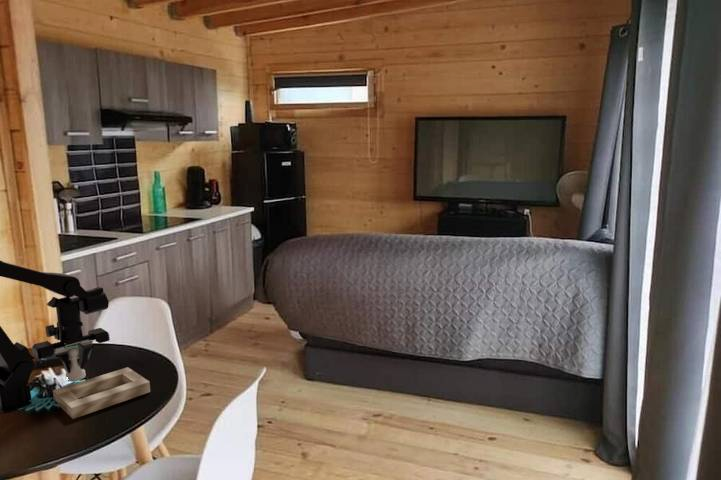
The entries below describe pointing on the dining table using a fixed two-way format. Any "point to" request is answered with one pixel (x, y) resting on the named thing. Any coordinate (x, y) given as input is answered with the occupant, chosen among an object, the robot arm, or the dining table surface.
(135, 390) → the wooden rectangular frame
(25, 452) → the dining table surface
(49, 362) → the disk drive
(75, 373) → the chess pawn
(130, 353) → the dining table surface
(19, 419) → the dining table surface
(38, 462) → the dining table surface
